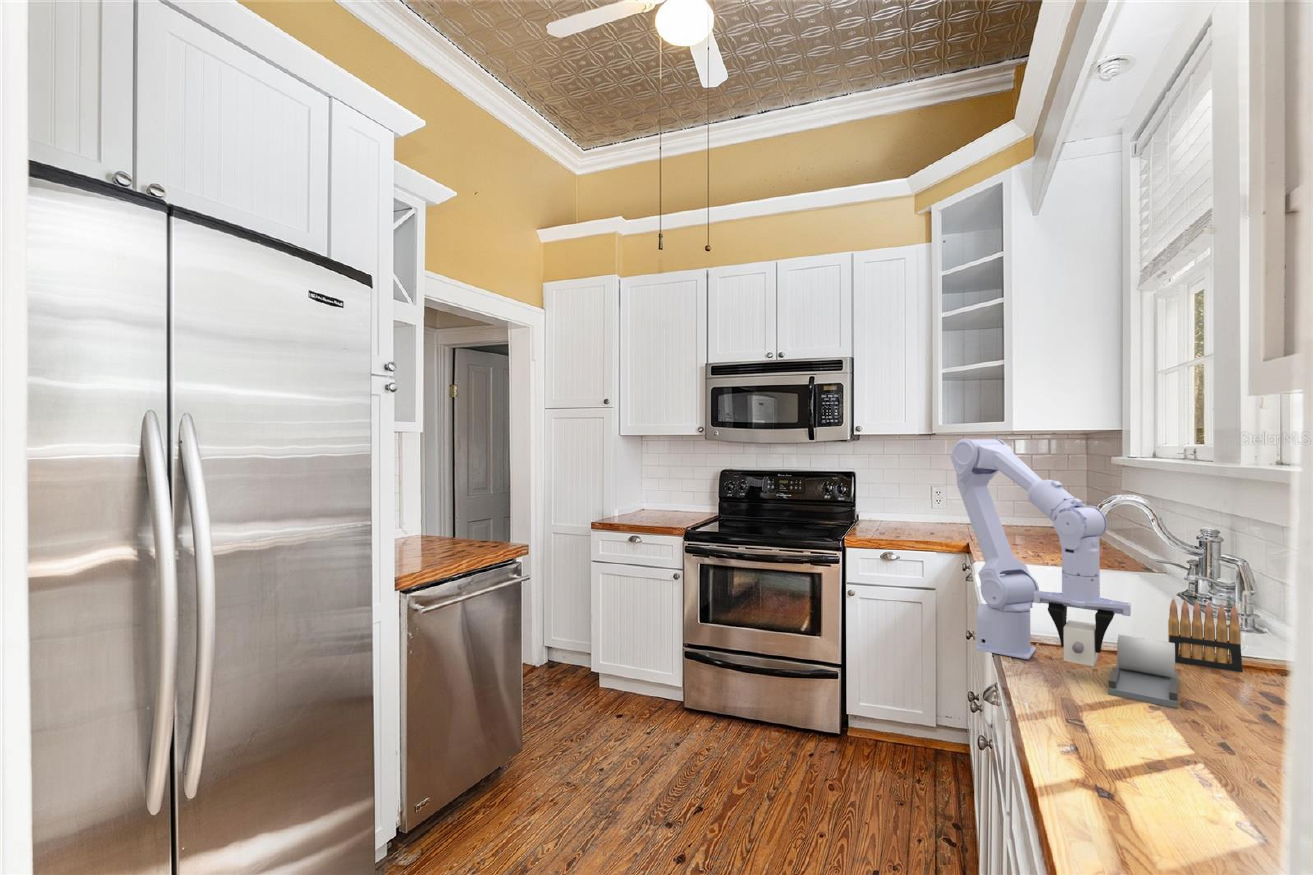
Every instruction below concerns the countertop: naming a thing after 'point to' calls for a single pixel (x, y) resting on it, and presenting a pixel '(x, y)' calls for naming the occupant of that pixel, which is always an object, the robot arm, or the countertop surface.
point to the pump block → (1080, 642)
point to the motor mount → (1145, 671)
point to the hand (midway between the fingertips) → (1080, 648)
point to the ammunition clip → (1205, 638)
